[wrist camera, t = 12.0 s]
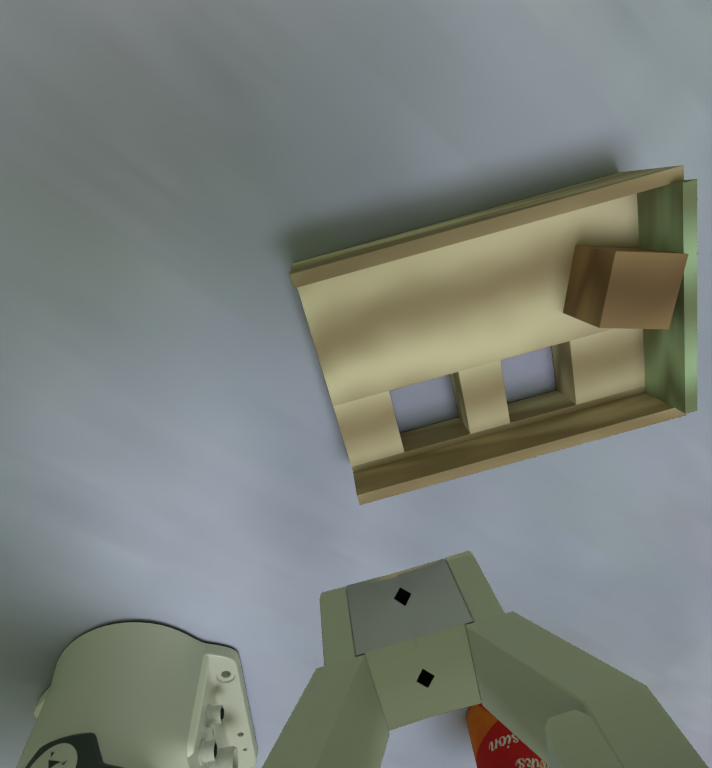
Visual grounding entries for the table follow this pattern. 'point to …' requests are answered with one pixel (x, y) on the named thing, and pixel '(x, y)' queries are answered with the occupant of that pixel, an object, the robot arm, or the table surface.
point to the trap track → (500, 330)
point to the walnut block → (624, 286)
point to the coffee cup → (497, 743)
